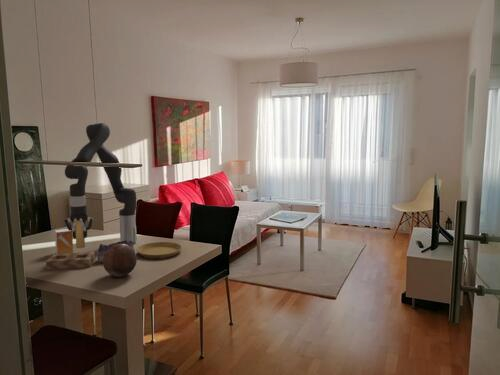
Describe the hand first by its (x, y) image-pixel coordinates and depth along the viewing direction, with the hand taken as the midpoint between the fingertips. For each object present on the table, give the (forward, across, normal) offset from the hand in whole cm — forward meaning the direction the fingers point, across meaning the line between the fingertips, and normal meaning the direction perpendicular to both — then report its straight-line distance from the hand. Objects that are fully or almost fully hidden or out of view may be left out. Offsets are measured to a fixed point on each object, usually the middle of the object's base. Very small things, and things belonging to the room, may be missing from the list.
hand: (80, 237), depth 199 cm
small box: (+14, +14, -21) cm, 29 cm away
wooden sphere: (+14, -22, +21) cm, 34 cm away
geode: (+14, -16, -7) cm, 22 cm away
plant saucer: (+14, -38, -12) cm, 42 cm away
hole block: (+14, +5, 0) cm, 14 cm away
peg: (+5, 0, 0) cm, 5 cm away
